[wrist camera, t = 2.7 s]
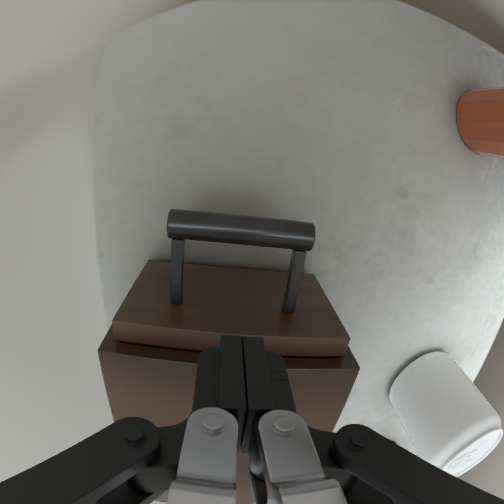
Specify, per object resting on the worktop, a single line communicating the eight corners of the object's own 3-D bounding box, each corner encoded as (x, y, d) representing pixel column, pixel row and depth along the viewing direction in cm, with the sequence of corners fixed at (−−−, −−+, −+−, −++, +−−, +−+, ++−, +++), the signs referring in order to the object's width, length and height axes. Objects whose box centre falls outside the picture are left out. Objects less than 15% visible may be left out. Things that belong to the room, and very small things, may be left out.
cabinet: (143, 269, 22) (97, 349, 13) (315, 284, 24) (360, 367, 14) (154, 419, 28) (139, 498, 19) (278, 427, 29) (292, 506, 20)
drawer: (150, 188, 19) (105, 218, 12) (326, 206, 21) (376, 244, 13) (157, 411, 26) (143, 479, 19) (278, 420, 27) (289, 486, 20)
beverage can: (438, 393, 30) (485, 463, 19) (380, 411, 30) (420, 494, 19) (457, 340, 27) (520, 412, 16) (394, 357, 27) (452, 449, 16)
